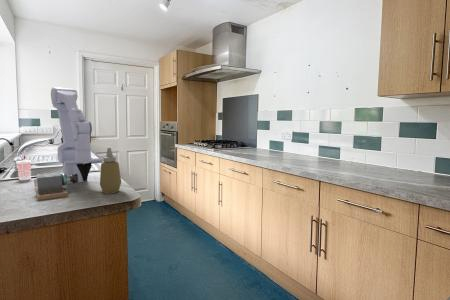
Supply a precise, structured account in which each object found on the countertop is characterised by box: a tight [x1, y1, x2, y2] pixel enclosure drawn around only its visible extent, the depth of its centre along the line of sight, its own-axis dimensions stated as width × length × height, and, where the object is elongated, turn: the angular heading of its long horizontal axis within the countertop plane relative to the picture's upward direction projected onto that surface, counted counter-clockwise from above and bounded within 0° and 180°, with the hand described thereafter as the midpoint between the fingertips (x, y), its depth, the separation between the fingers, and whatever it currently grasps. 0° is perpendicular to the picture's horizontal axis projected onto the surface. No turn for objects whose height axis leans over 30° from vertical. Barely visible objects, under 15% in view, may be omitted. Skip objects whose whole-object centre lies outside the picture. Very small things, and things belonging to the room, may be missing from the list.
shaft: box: [33, 173, 79, 188], centre depth 110 cm, size 15×5×5 cm, turn 127°
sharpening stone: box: [35, 172, 69, 202], centre depth 109 cm, size 10×22×7 cm, turn 37°
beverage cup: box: [15, 150, 32, 181], centre depth 133 cm, size 6×6×14 cm
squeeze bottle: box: [99, 147, 122, 194], centre depth 109 cm, size 8×8×18 cm
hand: (84, 180), depth 117 cm, fingers closed
